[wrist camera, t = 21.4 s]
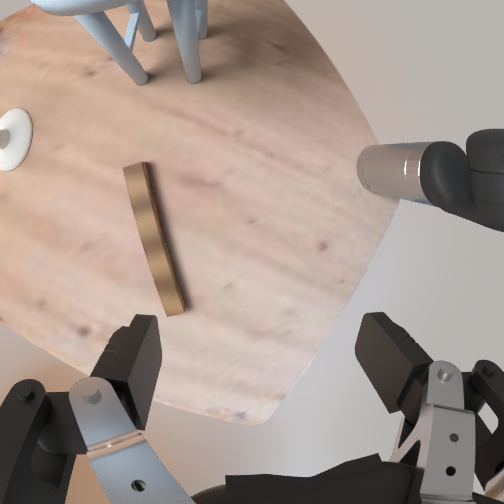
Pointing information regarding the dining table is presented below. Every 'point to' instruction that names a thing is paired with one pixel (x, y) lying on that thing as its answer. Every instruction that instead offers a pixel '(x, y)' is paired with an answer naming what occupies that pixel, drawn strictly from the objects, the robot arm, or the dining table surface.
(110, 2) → the stool
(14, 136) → the candlestick
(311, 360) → the dining table surface
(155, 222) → the thin wooden plank
